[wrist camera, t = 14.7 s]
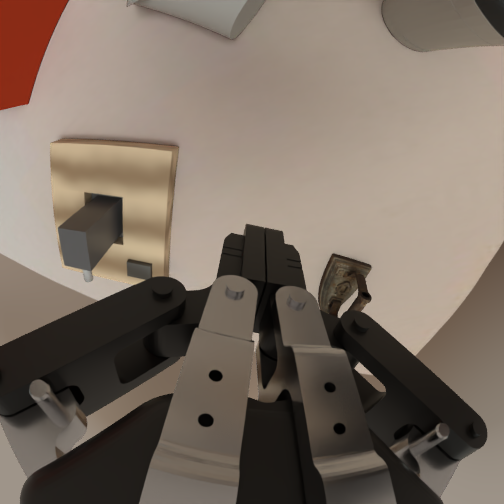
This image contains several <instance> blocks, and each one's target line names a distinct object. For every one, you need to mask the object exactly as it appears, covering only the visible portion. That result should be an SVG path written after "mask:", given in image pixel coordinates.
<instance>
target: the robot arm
mask: <svg viewBox="0 0 504 504" xmlns="http://www.w3.org/2000/svg"><path fill="white" fill-rule="evenodd" d="M382 14H383V18H384V21H385V23H386V25H387V28H388V29H389V30H390V32H391V33H392V35H393V36H394V37H395V38H396V39H397V40H398V41H399V42H400V43H402V44H403V45H405V46H406V47H408V48H410V49H412V50H415V51H419V52H428V51H435V50H444V49H453V48H464V47H479V46H504V0H384V2H383V6H382ZM253 332H255V333H259V341H258V344H257V346H256V365H257V378H258V392H259V395H258V400H255V399H252V398H248V392H249V384H250V376H251V369H252V361H253V353H254V341H252V334H253ZM181 356H185V360H184V363H183V366H182V369H181V372H180V375H179V378H178V381H177V385H176V388H175V391H174V393H172V394H167V395H163V396H159V397H156V398H153V399H151V400H149V401H147V402H145V403H143V404H142V405H140V406H139V407H137V408H136V409H134V410H133V411H131V412H130V413H128V414H127V415H126V416H124V417H123V418H121V419H120V420H118V421H117V422H115V423H114V424H112V425H111V426H109V427H108V428H106V429H104V430H103V431H101V432H100V433H98V434H97V435H95V436H94V437H92V438H90V439H89V440H87V441H86V442H84V443H83V444H81V445H79V446H78V447H76V448H74V449H73V450H71V449H72V447H73V446H74V444H75V443H76V442H77V441H79V440H80V439H81V438H82V437H83V436H84V434H85V432H86V430H87V418H86V417H87V416H88V415H90V414H92V413H94V412H95V411H97V410H99V409H101V408H102V407H104V406H106V405H107V404H109V403H111V402H112V401H114V400H116V399H117V398H119V397H121V396H122V395H124V394H126V393H128V392H129V391H131V390H132V389H134V388H136V387H137V386H139V385H141V384H142V383H144V382H145V381H147V380H149V379H150V378H152V377H153V376H155V375H156V374H158V373H160V372H161V371H163V370H164V369H166V368H167V367H169V366H171V365H172V364H174V363H175V362H177V361H178V360H179V359H180V357H181ZM359 362H360V363H361V364H362V365H363V366H364V367H365V368H366V369H368V370H369V371H370V372H371V373H372V374H373V375H374V376H375V377H376V378H377V379H378V380H379V381H380V382H381V383H382V384H383V385H384V386H385V388H386V392H379V391H378V390H376V389H375V388H374V387H373V386H372V385H371V384H370V383H369V382H368V381H367V380H366V379H365V378H363V377H362V376H361V375H360V374H359V373H358V372H357V371H356V370H355V369H354V368H355V366H356V365H357V364H358V363H359ZM0 422H1V425H2V427H3V430H4V432H5V434H6V437H7V439H8V441H9V443H10V445H11V448H12V450H13V452H14V454H15V456H16V458H17V459H18V462H19V463H20V465H21V467H22V469H23V470H24V472H25V474H26V476H27V478H28V479H27V480H26V482H25V483H24V485H23V488H22V491H21V496H20V504H443V502H442V500H441V498H440V497H441V495H442V493H443V492H444V490H445V488H446V487H447V485H448V483H449V481H450V479H451V478H452V476H453V474H454V472H455V470H456V468H457V466H458V464H459V462H460V461H461V460H462V459H463V458H465V457H466V456H468V455H470V454H472V453H473V452H475V451H476V450H478V449H480V448H481V447H482V446H483V445H484V444H485V442H486V440H487V428H486V425H485V423H484V421H483V419H482V418H481V417H480V416H479V415H478V414H477V413H476V412H475V411H474V410H473V409H472V408H471V407H470V406H469V405H468V404H466V403H465V402H464V401H463V400H462V399H461V398H460V397H459V396H458V395H457V394H456V393H455V392H454V391H453V390H452V389H450V388H449V387H448V386H447V385H446V384H445V383H444V382H443V381H442V380H441V379H440V378H438V377H437V376H436V375H435V374H434V373H433V372H432V371H431V370H429V368H427V367H426V366H425V365H424V364H423V363H422V362H421V361H420V360H419V359H417V358H416V357H415V356H414V355H413V354H412V353H411V352H410V351H408V350H407V349H406V348H405V347H404V346H403V345H402V344H401V343H399V342H398V341H397V340H396V339H395V338H394V337H393V336H392V335H390V334H389V333H388V332H387V331H386V330H385V329H383V328H382V327H381V326H380V325H379V324H378V323H377V322H375V321H374V320H373V319H372V318H371V317H369V316H368V315H367V314H365V313H363V312H360V311H356V310H349V311H346V312H345V313H343V315H342V316H341V318H338V317H336V316H333V315H330V314H328V313H326V312H323V311H322V310H320V309H319V306H318V303H317V301H316V299H315V297H314V296H313V295H312V294H311V293H309V292H308V291H307V290H306V285H305V280H304V275H303V270H302V265H301V260H300V255H299V253H298V251H297V250H296V249H295V248H294V246H293V245H288V244H285V243H284V236H283V231H279V230H274V229H269V228H264V227H259V226H255V225H250V224H246V226H245V230H244V235H239V234H234V233H231V234H230V235H228V236H227V237H226V238H225V240H224V244H223V249H222V254H221V259H220V263H219V268H218V273H217V278H216V280H215V281H214V282H213V284H212V285H211V286H210V287H208V288H205V289H202V290H194V291H186V289H185V287H184V285H183V284H182V283H181V282H179V281H178V280H176V279H173V278H171V277H165V276H157V277H152V278H149V279H147V280H145V281H142V282H140V283H138V284H136V285H133V286H131V287H129V288H126V289H124V290H122V291H120V292H117V293H115V294H113V295H111V296H108V297H106V298H104V299H102V300H100V301H97V302H95V303H93V304H91V305H88V306H86V307H84V308H82V309H80V310H77V311H75V312H73V313H71V314H69V315H67V316H64V317H62V318H60V319H58V320H56V321H53V322H51V323H49V324H47V325H45V326H43V327H41V328H38V329H36V330H34V331H32V332H30V333H28V334H25V335H23V336H21V337H19V338H17V339H15V340H13V341H11V342H8V343H6V344H4V345H2V346H0Z"/></svg>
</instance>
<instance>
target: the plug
mask: <svg viewBox="0 0 504 504" xmlns="http://www.w3.org/2000/svg"><path fill="white" fill-rule="evenodd" d="M58 233H59V239H60V245H61V250H62V255H63V260H64V265H65V266H69V267H74V268H78V269H82V270H83V275H84V280H85V281H86V282H91V281H92V280H93V275H92V270H93V269H94V267H95V266H96V265H97V263H98V262H99V261H100V260H101V258H102V257H103V256H104V254H105V253H106V252H107V251H108V249H109V248H110V247H111V246H112V245H113V243H114V242H115V241H116V240H117V238H118V237H119V236H120V235H121V234H122V233H123V204H122V198H117V197H108V196H99V195H97V196H96V197H95V198H93V199H92V200H91V201H90V202H88V203H87V204H86V205H85V206H83V207H82V208H81V209H79V210H78V211H77V212H76V213H75V214H73V215H72V216H71V217H70V218H69V219H67V220H66V221H65V222H64V223H63V224H61V225H60V226H59V227H58Z"/></svg>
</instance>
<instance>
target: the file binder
mask: <svg viewBox="0 0 504 504" xmlns="http://www.w3.org/2000/svg"><path fill="white" fill-rule="evenodd" d="M67 2H68V0H0V110H3V109H7V108H12V107H16V106H20V105H25V104H28V103H29V99H30V96H31V92H32V89H33V85H34V82H35V79H36V75H37V72H38V69H39V66H40V64H41V61H42V58H43V55H44V53H45V50H46V48H47V45H48V43H49V40H50V38H51V35H52V33H53V31H54V29H55V26H56V24H57V22H58V20H59V18H60V16H61V14H62V12H63V10H64V8H65V6H66V4H67Z"/></svg>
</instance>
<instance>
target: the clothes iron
mask: <svg viewBox="0 0 504 504" xmlns="http://www.w3.org/2000/svg"><path fill="white" fill-rule="evenodd" d="M370 270H371V265H369V264H366V263H363V262H360V261H357V260H354V259H350V258H347V257H344V256H341V255H337V254H332V256H331V258H330V260H329V262H328V264H327V266H326V268H325V271H324V273H323V276H322V279H321V282H320V286H319V293H318V301H319V307H320V309H321V310H322V311H323V312H326V313H329V314H330V315H333V316H336V317H338V311H339V309H340V306H341V305H342V304H343V303H344V302H345V301H346V300H347V299H348V298H349V297H350V296H351V295H352V294H353V293H354V292H355V291H356V290H357V288H358V291H359V292H358V297H357V298H356V299H355V301H354V302H353V304H352V305H351V306H350V308H349V309H348V310H347V311H349V310H356V311H360V312H361V311H362V309H363V308H364V307H365V305H366V304H367V303H369V302H370V301H371V299H372V298H371V295H370V294H369V293H368V290H367V285H366V281H365V278H366V276H367V275H368V274H369V272H370Z"/></svg>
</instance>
